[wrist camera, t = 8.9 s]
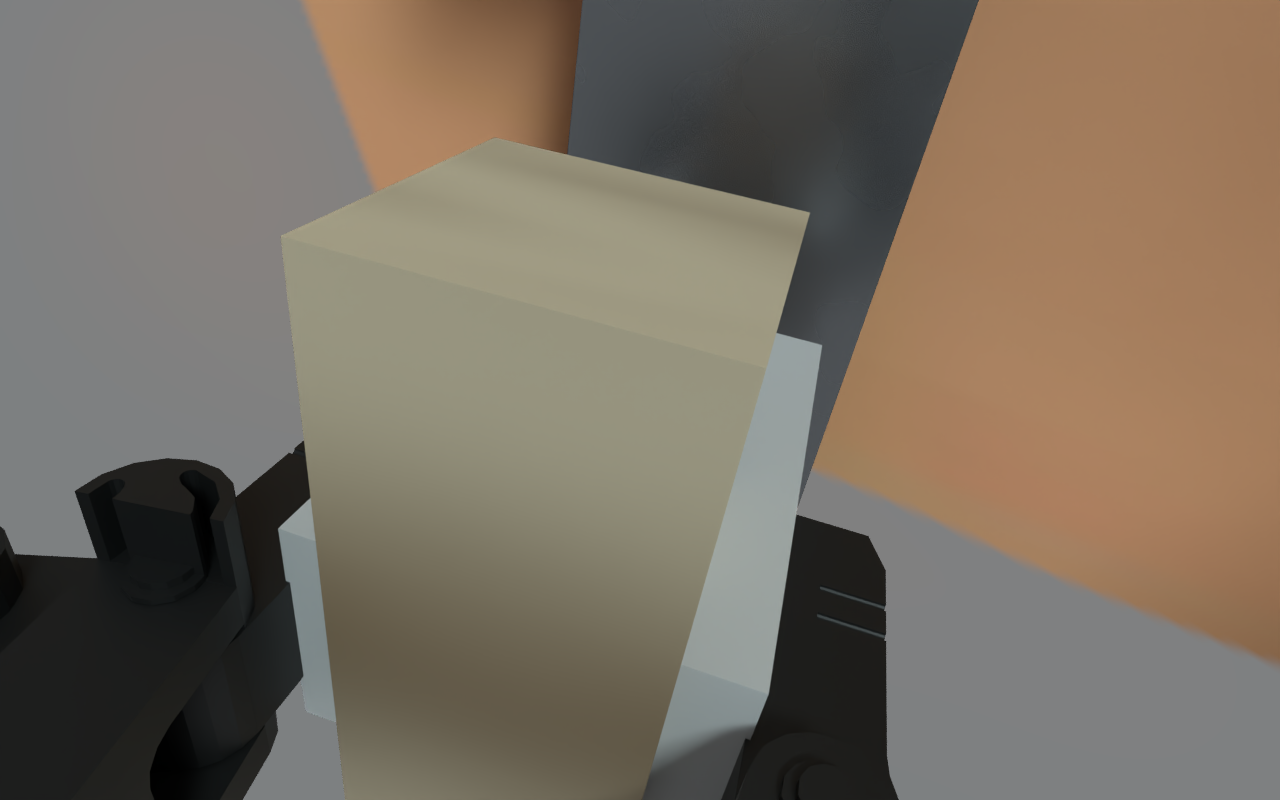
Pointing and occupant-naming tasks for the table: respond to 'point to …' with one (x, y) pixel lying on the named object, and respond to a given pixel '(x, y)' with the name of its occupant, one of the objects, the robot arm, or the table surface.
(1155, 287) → the table surface
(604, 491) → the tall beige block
